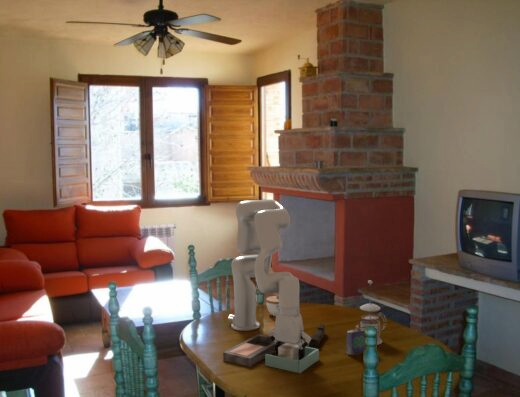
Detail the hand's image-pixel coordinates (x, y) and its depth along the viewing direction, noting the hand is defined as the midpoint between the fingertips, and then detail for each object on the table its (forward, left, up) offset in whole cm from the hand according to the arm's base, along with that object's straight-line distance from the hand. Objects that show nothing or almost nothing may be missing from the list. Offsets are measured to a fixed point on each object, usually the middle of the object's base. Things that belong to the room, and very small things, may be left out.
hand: (289, 356), depth 200 cm
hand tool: (-2, +26, -3) cm, 26 cm away
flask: (+18, +21, -2) cm, 28 cm away
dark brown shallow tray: (-16, +1, -2) cm, 16 cm away
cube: (0, 0, -2) cm, 2 cm away
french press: (+18, +36, -2) cm, 40 cm away
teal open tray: (+1, 0, -2) cm, 2 cm away
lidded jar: (-34, +49, -2) cm, 60 cm away
